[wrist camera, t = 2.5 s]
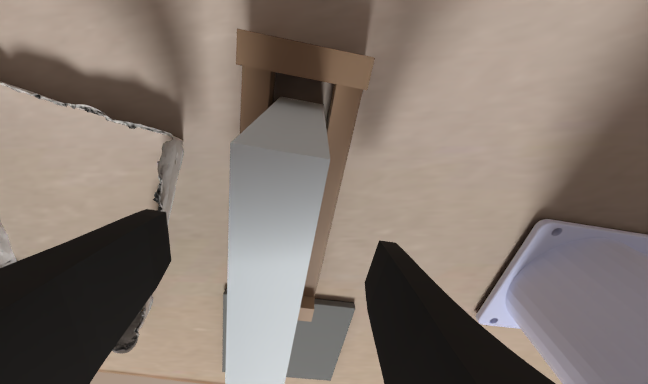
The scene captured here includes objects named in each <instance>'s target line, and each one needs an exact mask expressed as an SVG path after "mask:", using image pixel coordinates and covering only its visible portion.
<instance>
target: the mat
mask: <svg viewBox="0 0 648 384" xmlns="http://www.w3.org/2000/svg"><path fill="white" fill-rule="evenodd" d="M354 310H355V304H354V303H349V302H340V301H331V300H322V299H314V313H313V317H312V321H311V322H308V321H299V320H297V325H296V330H295V335H294V340H293V345H292V350H291V355H290V360H289V364H288V369H287V374H286V377H292V378H304V379H317V380H329V381H331V378H332V375H333V372H334V369H335V366H336V363H337V360H338V357H339V354H340V351H341V348H342V346H343V343H344V340H345V337H346V334H347V331H348V328H349V325H350V322H351V319H352V316H353V313H354ZM226 325H227V289H225V292H224V294H223V369H222V372H225V370H226Z"/></svg>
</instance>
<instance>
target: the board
mask: <svg viewBox="0 0 648 384" xmlns="http://www.w3.org/2000/svg"><path fill="white" fill-rule="evenodd" d="M329 164H330V153H329V145H328V137H327V130H326V122H325V114H324V106H323V104H318V103H312V102H307V101H302V100H296V99H291V98H286V97H280V98H279V99H278V100H277V101H276V102H274V103H273V104H272V105H271V106H270V107H269V108H268V109H267V110H266V111H265V112H264V113H262V114H261V115H260V116H259V117H258V118H257V119H256V120H255V121H254V122H253V123H252V124H250V125H249V126H248V127H247V128H246V129H245V130H244V131H243V132H242V133H241V134H240V135H238V136H237V137H236V138H235V139H234V140H233V141H232V142H231V143H230V188H229V234H228V279H227V325H226V370H225V384H285V379H286V374H287V369H288V364H289V360H290V355H291V350H292V345H293V340H294V335H295V330H296V325H297V320H298V316H299V311H300V306H301V301H302V296H303V291H304V286H305V281H306V276H307V271H308V267H309V262H310V257H311V252H312V247H313V242H314V237H315V232H316V227H317V222H318V218H319V213H320V208H321V203H322V198H323V193H324V188H325V183H326V178H327V173H328V169H329Z"/></svg>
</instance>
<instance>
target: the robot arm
mask: <svg viewBox="0 0 648 384" xmlns="http://www.w3.org/2000/svg"><path fill="white" fill-rule="evenodd" d="M170 262H171V253H170V244H169V234H168V225H167V215H166V212H163V211H156V210H148V209H146V210H143V211H140V212H137V213H135V214H132V215H130V216H127V217H125V218H122V219H120V220H118V221H115V222H113V223H111V224H108V225H106V226H104V227H101V228H99V229H96V230H94V231H92V232H89V233H87V234H85V235H82V236H80V237H78V238H75V239H73V240H70V241H68V242H66V243H63V244H61V245H58V246H56V247H53V248H50V249H48V250H45V251H43V252H40V253H38V254H35V255H33V256H30V257H27V258H25V259H22V260H20V261H17V262H15V263H12V264H9V265H7V266H4V267H1V268H0V384H90V382H91V380H92V379H93V377H94V376H95V374H96V373H97V371H98V370H99V368H100V367H101V365H102V364H103V362H104V361H105V359H106V358H107V357H108V355H109V354H110V352H111V351H112V350H113V348H114V347H115V345H116V344H117V343H118V341H119V340H120V338H121V337H122V336H123V334H124V333H125V332H126V330H127V329H128V327H129V326H130V325H131V323H132V322H133V320H134V319H135V318H136V316H137V315H138V313H139V312H140V311H141V309H142V308H143V306H144V305H145V304H146V302H147V301H148V299H149V298H150V297H151V295H152V294H153V292H154V291H155V289H156V288H157V286H158V284H159V282H160V281H161V279H162V277H163V275H164V273H165V271H166V269H167V268H168V266H169V264H170ZM365 291H366V301H367V309H368V314H369V319H370V323H371V328H372V332H373V337H374V341H375V345H376V349H377V354H378V358H379V362H380V366H381V371H382V375H383V379H384V384H555V383H554V382H552V381H551V380H550V379H548V378H547V377H546V376H544V375H543V374H542V373H540V372H539V371H538V370H536V369H535V368H533V367H532V366H531V365H529V364H528V363H527V362H525V361H524V360H523V359H522V358H520V357H519V356H518V355H516V354H515V353H514V352H512V351H511V350H510V349H509V348H507V347H506V346H505V345H504V344H503V343H501V342H500V341H499V340H498V339H497V338H495V337H494V336H493V335H492V334H490V333H489V332H488V331H487V330H486V329H484V328H483V327H482V326H481V325H480V324H483V325H491V326H501V327H510V328H519V329H521V330H522V331H523V332H524V334H525V335H526V336H527V338H528V339H529V340H530V341H531V343H532V344H533V345H534V347H535V348H536V349H537V351H538V352H539V353H540V355H541V356H542V357H543V358H544V360H545V361H546V362H547V364H548V365H549V366H550V368H551V369H552V370H553V372H554V373H555V374H556V376H557V377H558V378H559V379H560V381H561V382H562V383H563V384H648V235H647V234H640V233H634V232H628V231H621V230H615V229H609V228H602V227H596V226H590V225H583V224H577V223H571V222H564V221H558V220H551V219H543V220H540V221H539V222H537V223H536V224H535V226H534V227H533V229H532V230H531V232H530V233H529V235H528V236H527V238H526V239H525V241H524V242H523V244H522V245H521V247H520V248H519V250H518V252H517V253H516V255H515V256H514V258H513V259H512V261H511V262H510V264H509V265H508V267H507V268H506V270H505V271H504V273H503V274H502V276H501V278H500V279H499V281H498V282H497V284H496V285H495V287H494V288H493V290H492V291H491V293H490V294H489V296H488V297H487V299H486V300H485V302H484V304H483V305H482V307H481V308H480V310H479V311H478V313H477V314H476V319H477V320H478V322H479V323H480V324H479V323H477V322H476V321H475V320H474V319H473V318H472V317H471V316H470V315H468V314H467V313H466V312H465V311H464V310H463V309H462V308H461V307H460V306H459V305H458V304H457V303H455V302H454V301H453V300H452V299H451V298H450V297H449V296H448V295H447V294H446V293H445V292H444V291H443V290H442V289H441V288H440V287H439V286H438V285H437V284H436V283H435V282H434V281H433V280H432V279H431V278H430V277H429V276H428V275H427V274H426V273H425V272H424V271H423V270H422V269H421V268H420V267H419V266H418V265H417V264H416V263H415V262H414V260H413V259H412V258H411V257H410V256H409V255H408V254H407V253H406V252H405V251H404V250H403V249H402V248H401V247H400V246H399V245H398V244H397V243H393V242H386V241H379V243H378V246H377V249H376V252H375V254H374V257H373V260H372V263H371V266H370V269H369V272H368V275H367V278H366V281H365Z"/></svg>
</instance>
